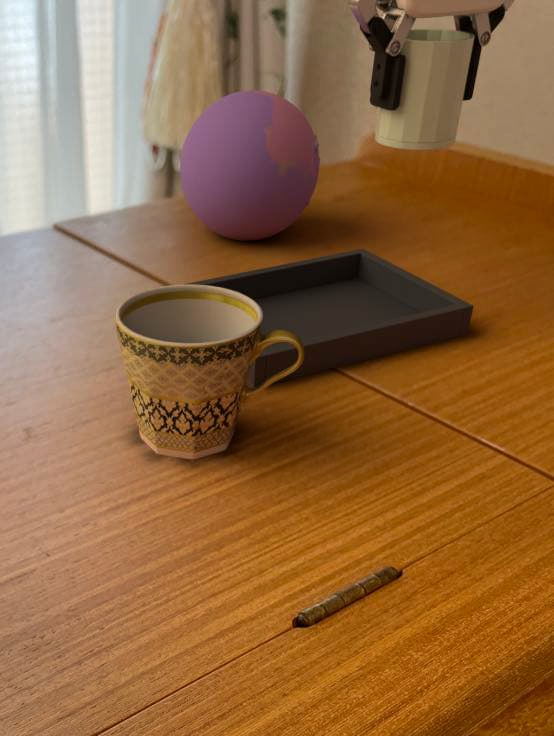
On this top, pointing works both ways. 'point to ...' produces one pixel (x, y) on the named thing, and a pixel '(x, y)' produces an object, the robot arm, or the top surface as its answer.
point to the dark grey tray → (344, 311)
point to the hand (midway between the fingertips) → (420, 100)
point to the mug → (428, 91)
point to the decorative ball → (249, 165)
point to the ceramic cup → (192, 364)
